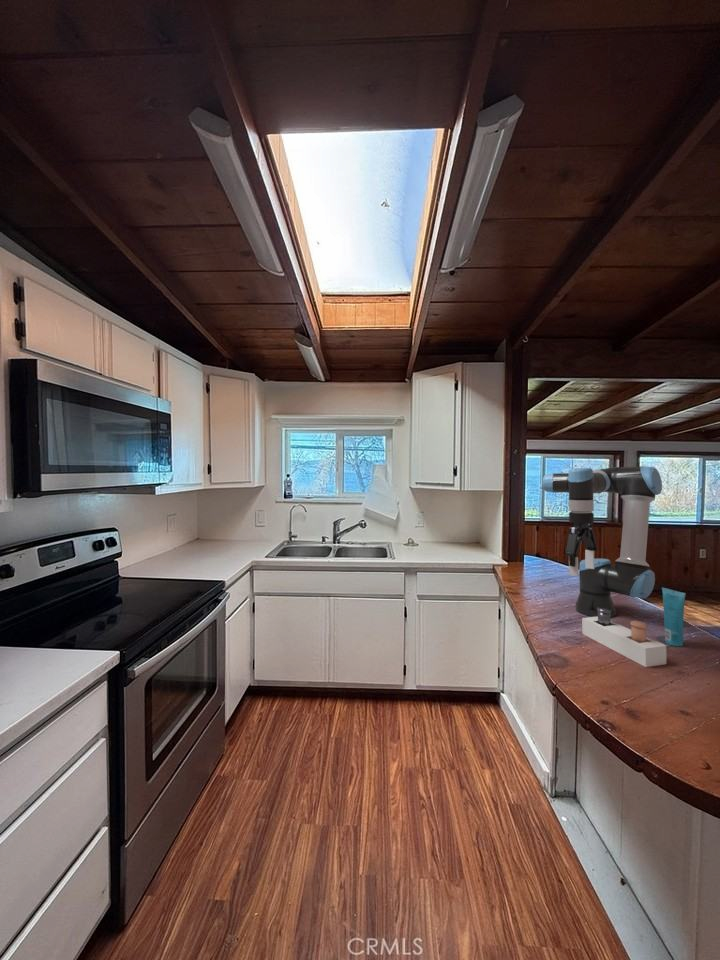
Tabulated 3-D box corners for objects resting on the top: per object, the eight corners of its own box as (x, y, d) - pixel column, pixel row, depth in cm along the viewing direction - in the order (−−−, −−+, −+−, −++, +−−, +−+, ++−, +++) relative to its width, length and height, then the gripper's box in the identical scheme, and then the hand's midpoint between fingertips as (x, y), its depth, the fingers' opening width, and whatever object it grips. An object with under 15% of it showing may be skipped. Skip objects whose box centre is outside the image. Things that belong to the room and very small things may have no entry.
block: (600, 631, 148) (600, 616, 148) (666, 664, 122) (666, 645, 122) (582, 633, 146) (582, 618, 146) (645, 667, 121) (645, 648, 120)
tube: (689, 646, 134) (689, 592, 134) (682, 649, 132) (682, 594, 131) (665, 638, 141) (664, 586, 140) (658, 641, 138) (657, 588, 138)
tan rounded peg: (638, 641, 130) (638, 620, 130) (650, 647, 125) (650, 625, 125) (627, 642, 129) (627, 621, 129) (639, 648, 125) (639, 626, 124)
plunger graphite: (604, 625, 144) (604, 606, 143) (614, 630, 139) (614, 610, 139) (594, 626, 143) (594, 607, 142) (604, 631, 138) (603, 611, 138)
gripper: (584, 508, 145) (585, 563, 145) (553, 514, 129) (554, 576, 129) (606, 509, 139) (607, 567, 139) (577, 515, 123) (578, 581, 124)
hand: (582, 571), depth 134 cm, fingers open, 13 cm apart
